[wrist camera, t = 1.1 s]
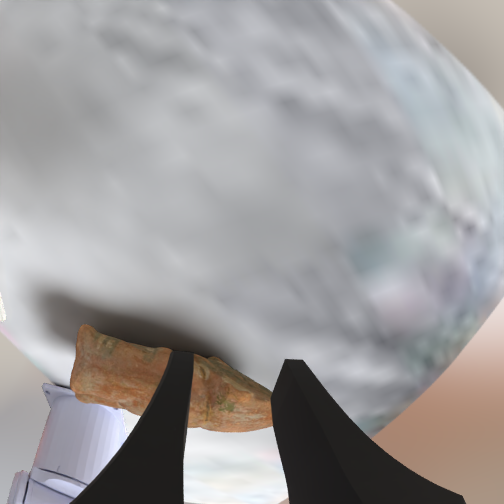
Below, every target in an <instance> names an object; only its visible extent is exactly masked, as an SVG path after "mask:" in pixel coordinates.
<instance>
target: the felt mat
mask: <svg viewBox="0 0 504 504" xmlns="http://www.w3.org/2000/svg"><path fill="white" fill-rule="evenodd" d="M6 318H7V317H6V314H5V310H4V306H3V302H2V298H1V294H0V321H5V320H6Z"/></svg>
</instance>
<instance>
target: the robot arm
mask: <svg viewBox="0 0 504 504" xmlns="http://www.w3.org/2000/svg"><path fill="white" fill-rule="evenodd" d="M193 372H194V353H192V352H183V351H172V352H171V353H170V356H169V360H168V363H167V366H166V369H165V371H164V374H163V376H162V378H161V380H160V383H159V385H158V387H157V389H156V391H155V392H154V394H153V396H152V398H151V400H150V402H149V404H148V406H147V407H146V409H145V411H144V412H143V414H142V416H141V417H140V419H139V421H138V422H137V424H136V426H135V427H134V429H133V430H132V432H131V433H130V435H129V436H128V438H127V433H126V428H125V423H124V417H123V412H122V409H119V408H113V407H109V406H105V405H100V404H92V403H89V404H86V403H83V402H80V401H79V400H78V399H77V398H76V397H75V392H73V391H72V390H70V389H66V388H62V387H59V386H55V385H51V384H47V383H44V384H43V386H42V388H43V391H44V393H45V396H46V398H47V401H48V403H49V406H50V408H51V411H50V413H49V416H48V419H47V422H46V425H45V428H44V431H43V434H42V437H41V440H40V443H39V446H38V449H37V453H36V457H35V459H34V463H33V466H32V469H31V471H30V473H29V475H28V473H27V472H25V471H24V470H22V471H21V472H17V473H15V476H14V479H13V483H12V486H11V490H10V493H9V497H8V501H7V504H184V494H183V459H184V451H185V443H186V435H187V427H188V419H189V409H190V400H191V390H192V381H193ZM270 401H271V413H272V422H273V428H274V432H275V437H276V441H277V445H278V449H279V454H280V458H281V462H282V466H283V470H284V474H285V478H286V483H287V488H288V495H289V503H290V504H466V503H465V500H464V498H463V496H462V495H459V494H456V493H454V492H452V491H450V490H447V489H445V488H443V487H440V486H438V485H436V484H434V483H432V482H430V481H429V480H427V479H425V478H423V477H421V476H420V475H418V474H416V473H415V472H413V471H412V470H410V469H408V468H407V467H406V466H404V465H403V464H401V463H400V462H398V461H397V460H396V459H394V458H393V457H392V456H390V455H389V454H388V453H386V452H385V451H384V450H383V449H382V448H380V447H379V446H378V445H377V444H376V443H374V441H372V440H371V439H370V438H369V437H368V436H367V435H366V434H365V433H364V432H363V431H362V430H361V429H360V428H359V427H358V426H357V425H356V424H355V423H354V422H353V421H352V420H351V419H350V418H349V417H348V416H347V414H346V413H345V412H344V411H343V410H342V409H341V407H340V406H339V405H338V404H337V403H336V402H335V400H334V399H333V398H332V397H331V395H330V394H329V393H328V392H327V390H326V389H325V388H324V387H323V385H322V384H321V383H320V381H319V380H318V379H317V378H316V376H315V375H314V374H313V372H312V371H311V370H310V368H309V367H308V366H307V365H306V363H305V362H304V361H303V360H294V359H285V361H284V363H283V366H282V369H281V371H280V374H279V377H278V379H277V382H276V385H275V387H274V390H273V393H272V395H271V398H270Z"/></svg>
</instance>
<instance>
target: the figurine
mask: <svg viewBox="0 0 504 504" xmlns="http://www.w3.org/2000/svg"><path fill="white" fill-rule="evenodd" d="M171 352H172V350H171V349H169V348H165V347H157V348H152V347H146V346H143V345H139V344H134V343H127V342H125V341H123V340H120V339H117V338H114V337H111V336H107V335H104V334H101V333H99V332H98V331H96V330H95V329H94V328H93V327H92V326H90V325H86V324H84V325H82V326H81V327H80V328H79V331H78V335H77V342H76V359H75V362H74V366H73V370H72V373H71V378H70V388H71V389H72V391H73V392H75V397H76V398H77V399H78V400H79V401H80V402H83V403H86V404H89V403H92V404H100V405H105V406H109V407H113V408H119V409H126V410H128V411H129V412H131V413H133V414H136V415H139V416H142V414H143V412H144V411H145V409H146V407H147V406H148V404H149V402H150V400H151V398H152V396H153V394H154V392H155V391H156V389H157V387H158V385H159V383H160V380H161V378H162V376H163V374H164V371H165V369H166V366H167V363H168V360H169V356H170V353H171ZM271 395H272V392H271V391H270V390H268V389H267V388H265V387H264V386H262V385H260V384H258V383H257V382H255V381H254V380H252V379H250V378H249V377H247V376H245V375H243V374H242V373H240V372H239V371H237V370H234V369H233V368H232V367H230V366H228V365H227V364H226V363H225V362H223V361H222V360H221V359H219V358H217V357H214V356H212V357H209V358H208V359H206V358H204V357H202V356H200V355H197V354H194V372H193V381H192V390H191V400H190V409H189V419H188V428H197V427H201V428H204V429H207V430H211V431H218V432H248V431H254V430H259V429H263V428H268V427H271V426H273V422H272V413H271V401H270V398H271Z"/></svg>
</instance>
